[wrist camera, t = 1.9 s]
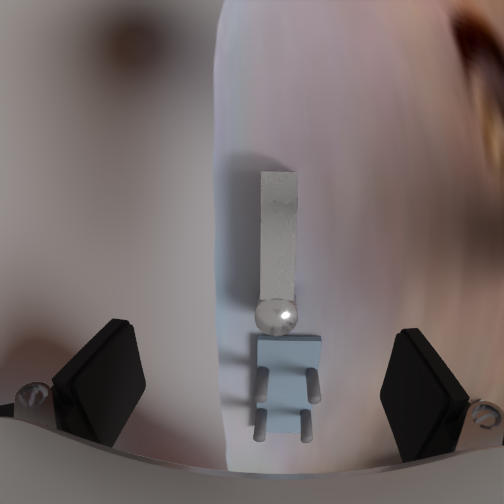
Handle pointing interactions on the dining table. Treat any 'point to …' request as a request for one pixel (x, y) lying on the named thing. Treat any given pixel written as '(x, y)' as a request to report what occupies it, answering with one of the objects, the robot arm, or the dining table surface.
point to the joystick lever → (277, 253)
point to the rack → (286, 385)
